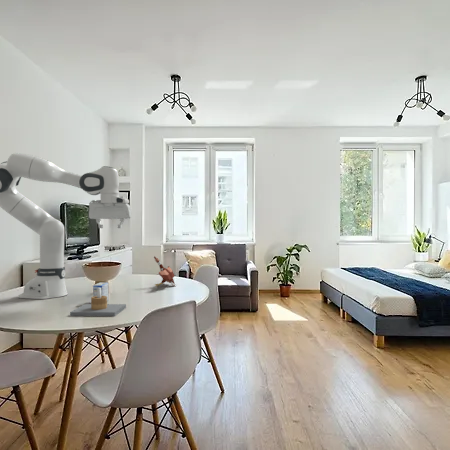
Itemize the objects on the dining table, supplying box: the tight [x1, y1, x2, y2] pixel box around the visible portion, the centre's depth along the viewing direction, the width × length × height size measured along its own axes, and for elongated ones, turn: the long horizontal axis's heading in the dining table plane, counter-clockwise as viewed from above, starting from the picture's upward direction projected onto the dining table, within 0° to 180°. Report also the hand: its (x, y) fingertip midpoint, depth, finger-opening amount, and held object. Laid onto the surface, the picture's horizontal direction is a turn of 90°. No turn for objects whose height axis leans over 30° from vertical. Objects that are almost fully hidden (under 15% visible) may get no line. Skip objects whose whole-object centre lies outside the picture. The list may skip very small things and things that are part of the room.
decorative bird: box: [153, 255, 176, 287], centre depth 208 cm, size 28×18×15 cm, turn 178°
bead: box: [90, 296, 108, 310], centre depth 150 cm, size 6×6×4 cm
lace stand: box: [69, 288, 127, 317], centre depth 150 cm, size 18×14×10 cm
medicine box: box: [92, 282, 109, 302], centre depth 167 cm, size 8×4×9 cm, turn 178°
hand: (110, 228), depth 177 cm, fingers open, 8 cm apart
